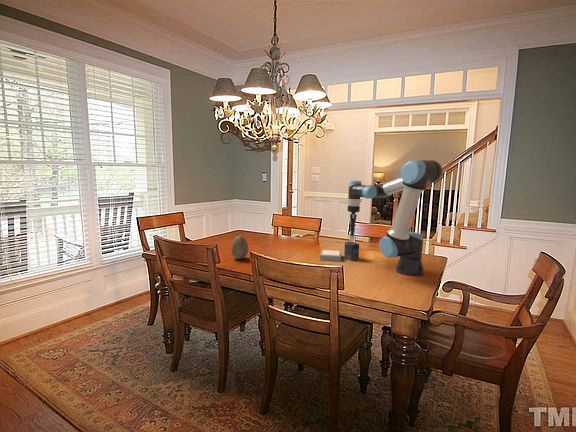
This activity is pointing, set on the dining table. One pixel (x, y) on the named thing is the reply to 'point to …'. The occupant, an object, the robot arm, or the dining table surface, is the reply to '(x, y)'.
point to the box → (351, 251)
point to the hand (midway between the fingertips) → (351, 238)
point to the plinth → (330, 255)
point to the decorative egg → (239, 247)
